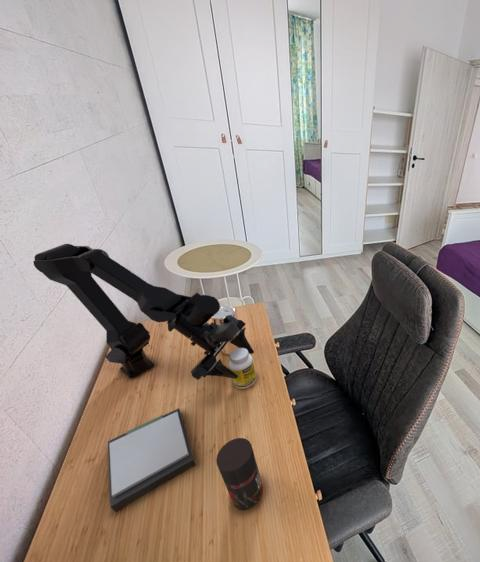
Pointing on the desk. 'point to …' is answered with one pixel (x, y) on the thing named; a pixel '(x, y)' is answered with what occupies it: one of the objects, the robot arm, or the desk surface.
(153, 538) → the desk surface
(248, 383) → the pill bottle
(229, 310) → the beer glass
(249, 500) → the deodorant
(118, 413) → the desk surface
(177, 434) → the kitchen scale
